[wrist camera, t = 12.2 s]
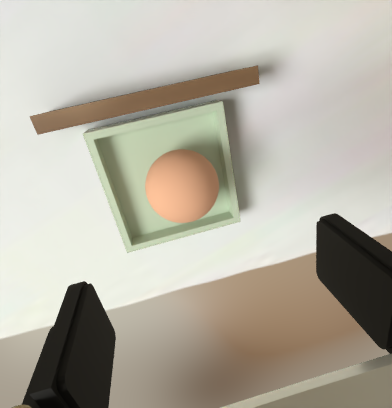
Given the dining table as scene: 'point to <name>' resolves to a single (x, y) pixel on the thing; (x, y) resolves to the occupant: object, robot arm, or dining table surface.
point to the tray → (146, 155)
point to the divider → (144, 100)
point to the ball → (182, 186)
